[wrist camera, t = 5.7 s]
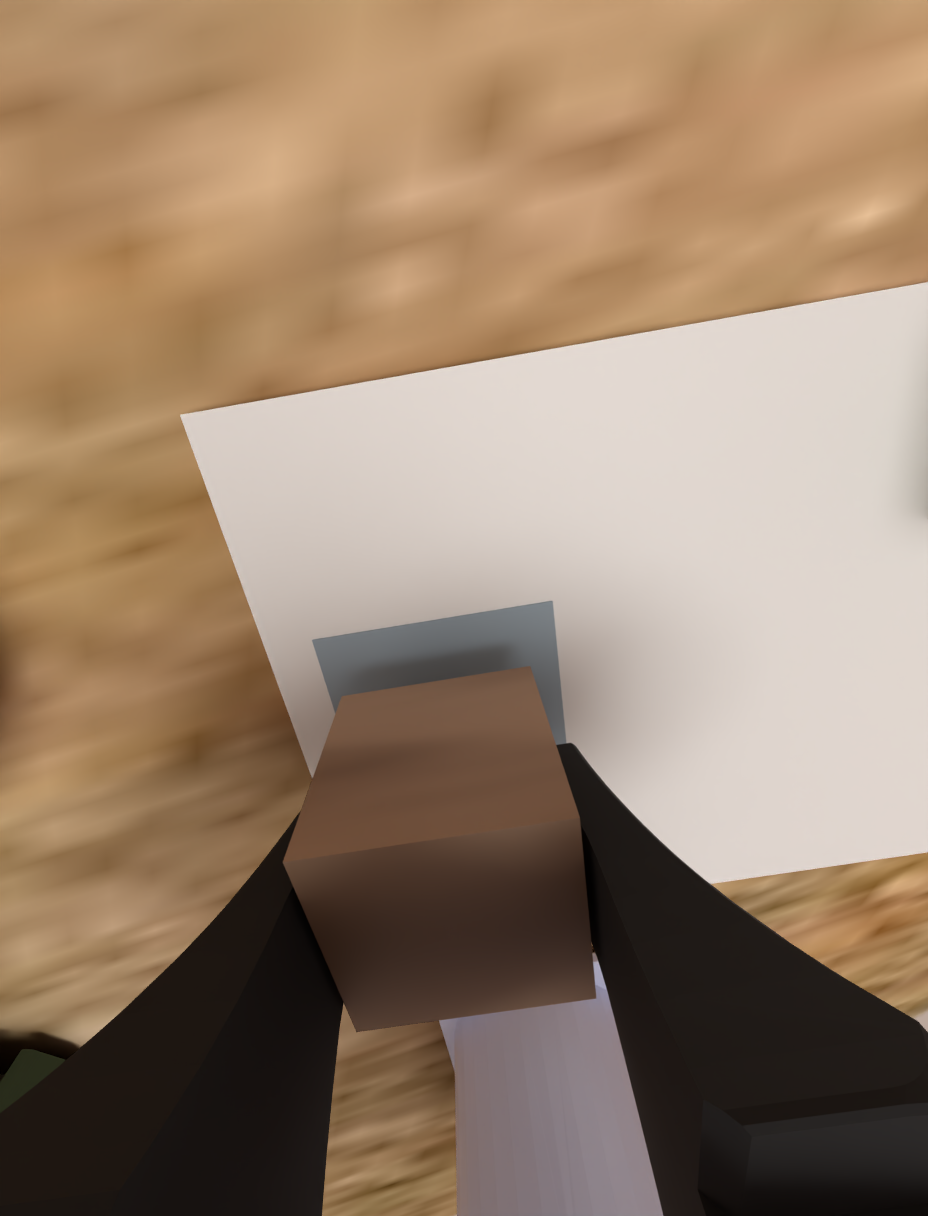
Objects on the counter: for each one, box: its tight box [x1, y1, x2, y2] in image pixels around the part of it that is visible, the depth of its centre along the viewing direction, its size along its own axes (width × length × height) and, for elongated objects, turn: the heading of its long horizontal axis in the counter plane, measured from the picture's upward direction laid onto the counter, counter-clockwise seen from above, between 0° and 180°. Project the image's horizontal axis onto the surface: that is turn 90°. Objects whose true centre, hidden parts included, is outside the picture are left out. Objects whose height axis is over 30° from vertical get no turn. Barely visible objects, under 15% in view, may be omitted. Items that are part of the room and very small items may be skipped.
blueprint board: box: [180, 282, 928, 884], centre depth 14 cm, size 18×24×1 cm
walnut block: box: [283, 666, 596, 1032], centre depth 10 cm, size 4×4×4 cm
